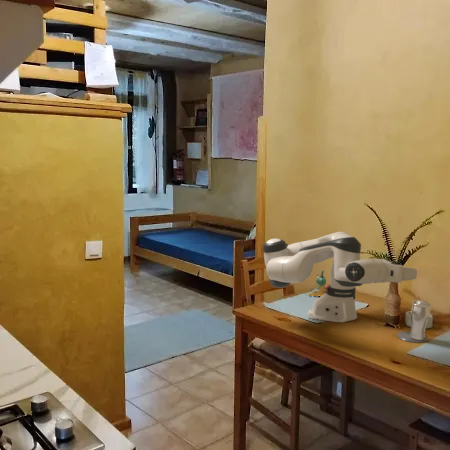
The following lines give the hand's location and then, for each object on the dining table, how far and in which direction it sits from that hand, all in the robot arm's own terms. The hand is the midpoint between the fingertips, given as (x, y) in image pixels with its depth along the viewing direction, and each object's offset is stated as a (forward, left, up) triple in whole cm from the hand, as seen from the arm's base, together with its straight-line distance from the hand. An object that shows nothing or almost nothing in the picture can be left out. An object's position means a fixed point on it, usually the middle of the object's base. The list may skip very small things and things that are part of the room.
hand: (400, 269), depth 196 cm
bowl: (+12, +24, -30) cm, 41 cm away
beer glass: (+9, +7, -30) cm, 32 cm away
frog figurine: (-30, +64, -31) cm, 77 cm away
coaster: (+7, +8, -30) cm, 32 cm away
